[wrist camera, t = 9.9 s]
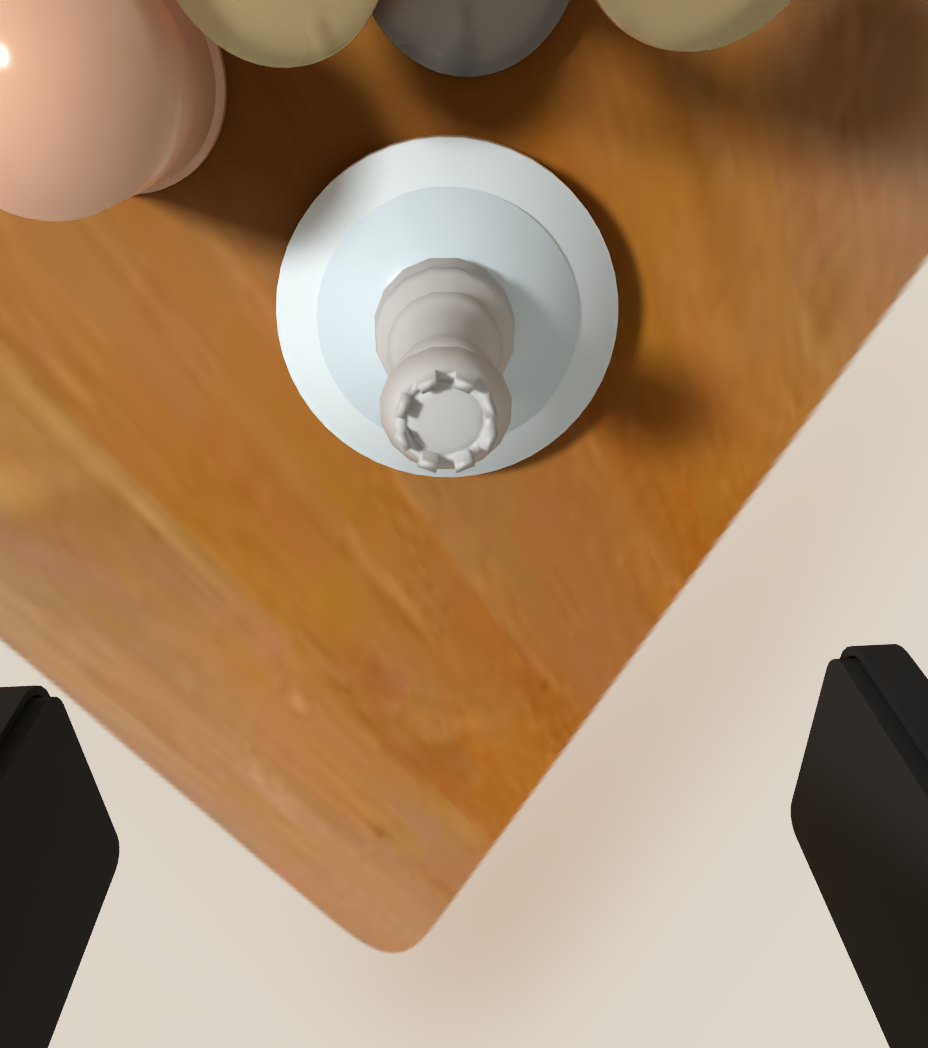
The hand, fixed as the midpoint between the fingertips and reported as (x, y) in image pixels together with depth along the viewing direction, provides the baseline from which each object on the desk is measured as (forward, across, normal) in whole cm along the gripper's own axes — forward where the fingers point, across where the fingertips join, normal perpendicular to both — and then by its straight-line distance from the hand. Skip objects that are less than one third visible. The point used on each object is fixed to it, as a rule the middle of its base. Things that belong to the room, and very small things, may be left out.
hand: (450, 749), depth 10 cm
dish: (+20, 0, 0) cm, 20 cm away
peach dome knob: (+20, +9, -7) cm, 23 cm away
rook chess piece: (+18, 0, 0) cm, 18 cm away
